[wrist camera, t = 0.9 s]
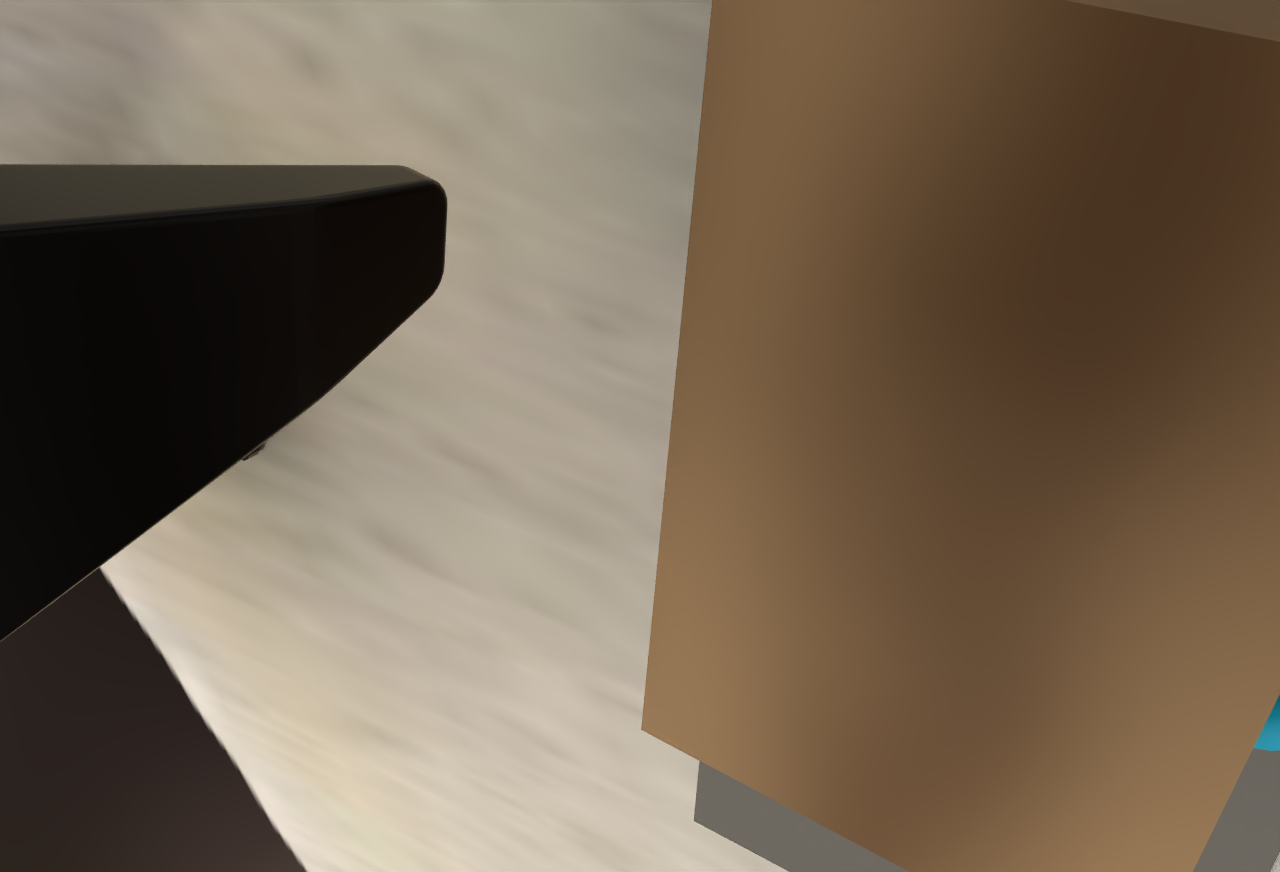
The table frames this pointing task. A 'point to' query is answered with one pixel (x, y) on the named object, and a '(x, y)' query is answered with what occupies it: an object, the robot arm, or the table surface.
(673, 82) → the table surface
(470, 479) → the table surface
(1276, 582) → the walnut lid
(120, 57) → the table surface
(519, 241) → the table surface
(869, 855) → the rubber mat
